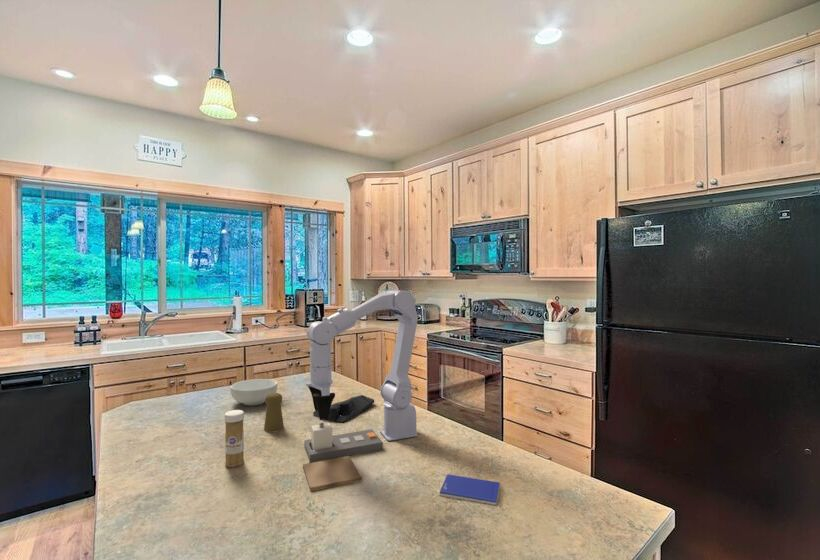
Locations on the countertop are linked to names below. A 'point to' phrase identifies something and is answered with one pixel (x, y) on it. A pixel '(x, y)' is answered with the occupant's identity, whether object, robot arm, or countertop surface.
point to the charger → (321, 436)
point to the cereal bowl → (253, 390)
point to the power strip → (345, 445)
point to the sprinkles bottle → (234, 438)
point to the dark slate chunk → (347, 408)
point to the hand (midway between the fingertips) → (321, 414)
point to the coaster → (331, 473)
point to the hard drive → (470, 489)
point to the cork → (273, 413)
